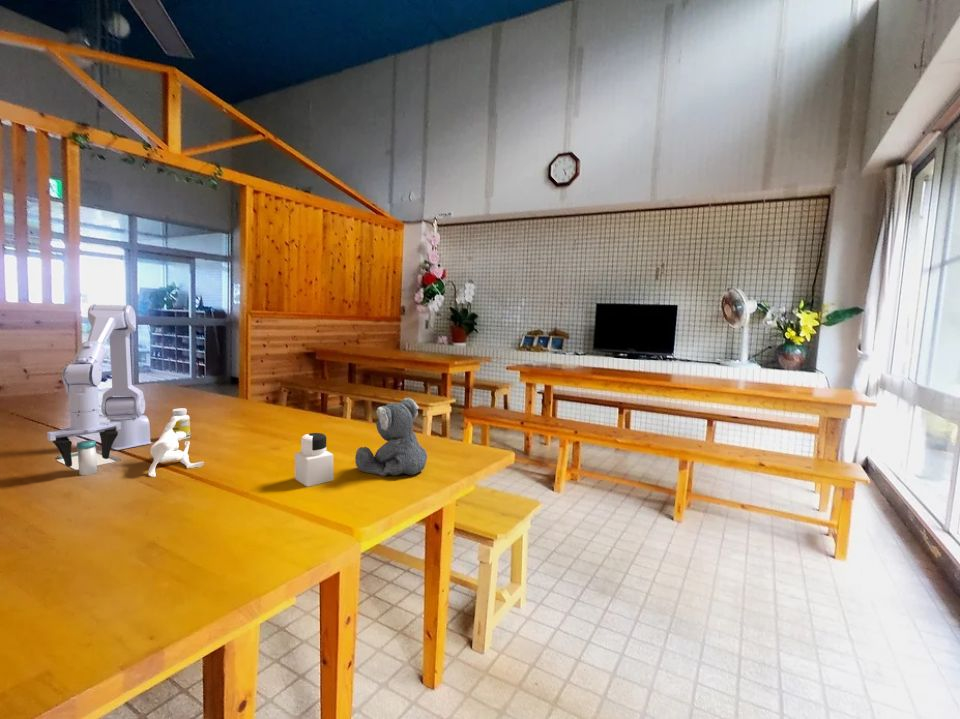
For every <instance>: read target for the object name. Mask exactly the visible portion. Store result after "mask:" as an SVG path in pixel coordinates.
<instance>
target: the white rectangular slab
mask: <svg viewBox="0 0 960 719" xmlns="http://www.w3.org/2000/svg"><path fill="white" fill-rule="evenodd" d="M71 458H72V466H70V467H69V468H71V469H72V470H75V471H79V463H78V456H73V457H71ZM96 458H97V467H98V466H102V465H105V464H106V465H107V464H111V463H115V462H121V459H122V458H119V457H117V456H115V455H112V454H111V453H110V454H109V459H104V458H102V450H96ZM56 462H58V463H60V464H63V465H65V462H64V459H59V458H57V459H56Z"/></svg>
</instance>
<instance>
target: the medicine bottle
mask: <svg viewBox="0 0 960 719" xmlns="http://www.w3.org/2000/svg"><path fill="white" fill-rule="evenodd" d="M300 442H301V443H300V444H301V445H300V447H301V450H300V451H298V452H295V454H294V476H295V477H294V479H295V481H298V482H299V483H301V484H302V485H304V486H305V487H307V488H309V487H312V486H317V485H321V484H324V483H328V482H329V483H330V482H333V480H334V454H333V453H331V452H330V451H328V450H327V435H325V434H324V433H321V432H310V433H306V434H304V435H303V436H301V437H300Z"/></svg>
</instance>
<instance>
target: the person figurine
mask: <svg viewBox="0 0 960 719" xmlns="http://www.w3.org/2000/svg"><path fill="white" fill-rule="evenodd" d="M171 417H172V416H171ZM171 417H170V418H171ZM182 419H184V418H183V417H182V416H174V417H172V418H171V421H170V420H169V422H167V423H166V424H165V426H164V429H163V431H162V433H161V434H160V437H159V439H158V440H157V441H155V442H154V443H153V444H152V446H150V450H149V451H150V453H149V454H150V456H152V458H153V461H152V463H151V464H150V466H149V468H148V472H147V473H148V477H152V478H155V477H156V467H157V464H159V463H167V462H176V461H180V463H181V464H183V465H184V466H186V469H187V470H190V469H189V468H192V469H196V468H195V467H198V468H202V467H203V466H204V463H205V462H204V461H198V462H193V463H191V462H190V460H189V458H190V457H189V454H188V452H189V448H190V445H191V442H190V440H188V441H187V440H186V439H185V437H186V433H185V432H182V431H179V432H176V433H174V431H173V429H172V428H173V427H174V426H175V424H176V422H177V421H178V420H182ZM183 439H184V440H185V441H184V440H183ZM182 440H183V441H184V443H183V444H184V447H185V448H183V450H180V449H179V446H180V445H179V444H180V443H179V441H182Z"/></svg>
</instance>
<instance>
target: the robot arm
mask: <svg viewBox="0 0 960 719" xmlns="http://www.w3.org/2000/svg"><path fill="white" fill-rule="evenodd" d="M87 320H88V321H89V324H90V326H91V327H90V330H89V334H88V339H87V341H84V342H82V343H81V344H80V345H79V347H78V349H77V351H76V354H75V356H74V358H73V360H72V363H70V364H69V365H65V366H64V368H63V370H62V375H61V378H62V379H61V380H62V383H63V385H64V387H65V394H67V395H68V403H69V406H68V407H69V419H70V420H69V421H70V427H66V428H62V429H58V430H54V431H53V430H52V431H47V432H46V436H47V441H49V442H52V443H53V444H54V445H55V446H56V448H57V450H58V451H59V453H60V455H62V457H63V459H64V462H65V466H66V467H68V468H70V466H72V458H71V453H72V445H73V444H72V443H73V441H71V440H70V438H73V437H79V436H85V435H91V434H96V433H97V434H98V433H99V437H100V441H101V451H102V458H104V459H109V454H110V455H111V453H110V452H111V450H114V451H120V450H125V449H129V448H135V447H140V446H145V445H146V446H147V445H150V444H152V441H151V429H150V428H151V426H150V420H149V418H148V417H147V415H145V410H146V400H145V396H144V392H143V390H141V389H140V388H138V387H136V386H134V385H133V383H132V380H133V379H132V363H131V362H132V360H131V340H130V338H131V334H132V333H134V332H136V329H137V318H136V312H135V309H134V308H133V307H132V305H130V304H126V305H113V304H111V305H110V304H109V305H108V304H95V303H93V304H91V305H90V306H89V307H88V309H87ZM108 339H109V350H110V351H109V354H110V370H111V388H109V389H108V390H106V391H104V393H103V394H102V401H101V414H102V415H103V416H104V418H107V420H109V422H102V423H101V421H100V407H99V406H100V404H99V385H100V384H101V383H102V377H103V366H102V365H103V362H104V360H105V356H106V355H107V351H108V350H107V348H106V346H105V344H106V343H107V341H108Z"/></svg>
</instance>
